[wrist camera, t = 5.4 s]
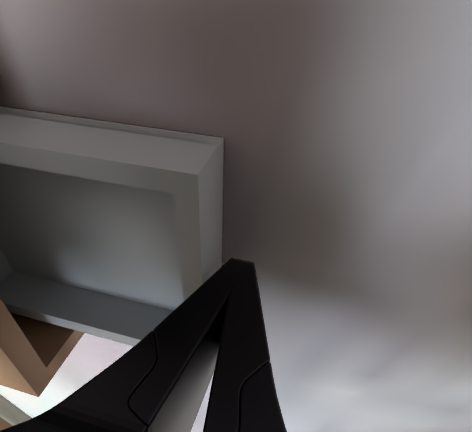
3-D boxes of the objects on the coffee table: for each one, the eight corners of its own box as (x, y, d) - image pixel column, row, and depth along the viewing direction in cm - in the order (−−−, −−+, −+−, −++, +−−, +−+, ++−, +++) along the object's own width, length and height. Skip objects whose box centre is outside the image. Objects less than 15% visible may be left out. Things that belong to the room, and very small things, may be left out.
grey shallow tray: (223, 138, 8) (198, 175, 7) (220, 319, 13) (205, 365, 11) (-82, 94, 10) (-160, 116, 8) (16, 269, 15) (-22, 304, 13)
